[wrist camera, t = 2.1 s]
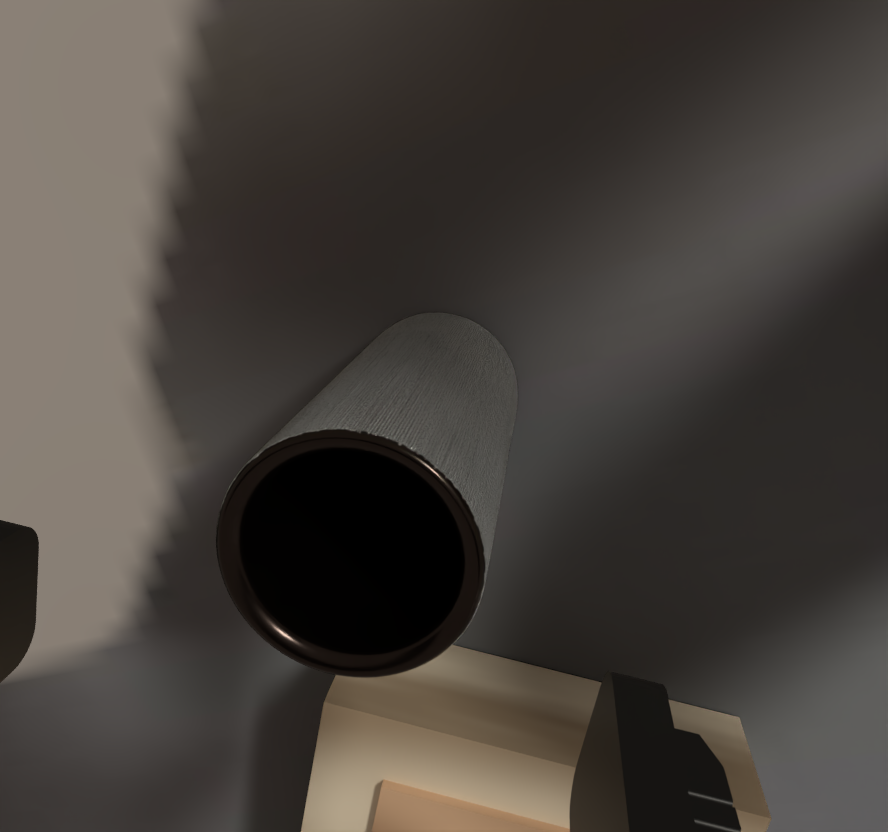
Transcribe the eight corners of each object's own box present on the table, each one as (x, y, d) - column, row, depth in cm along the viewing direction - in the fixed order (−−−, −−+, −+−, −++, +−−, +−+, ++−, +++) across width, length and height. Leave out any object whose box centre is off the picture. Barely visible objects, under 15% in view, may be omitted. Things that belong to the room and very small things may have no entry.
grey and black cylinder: (387, 479, 24) (266, 700, 14) (339, 333, 23) (171, 465, 13) (537, 445, 23) (518, 658, 13) (494, 291, 22) (440, 399, 12)
